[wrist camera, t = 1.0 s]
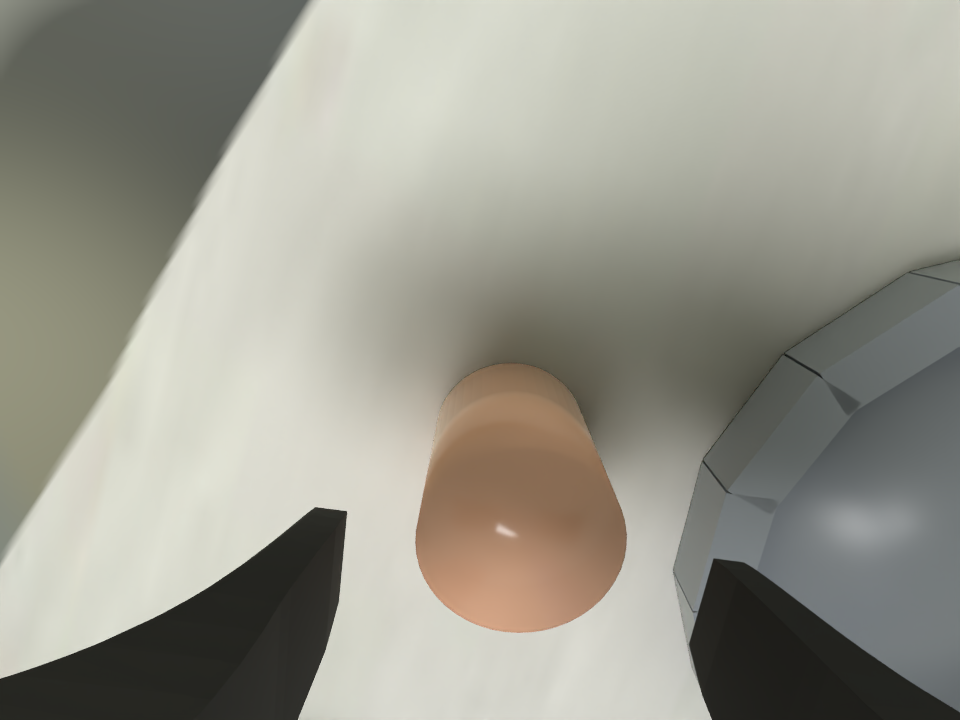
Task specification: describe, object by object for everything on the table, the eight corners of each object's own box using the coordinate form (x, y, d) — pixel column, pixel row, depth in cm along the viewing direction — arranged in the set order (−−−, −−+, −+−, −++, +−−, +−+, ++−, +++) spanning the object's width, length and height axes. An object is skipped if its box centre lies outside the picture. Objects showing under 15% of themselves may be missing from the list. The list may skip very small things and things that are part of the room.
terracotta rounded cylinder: (568, 508, 20) (603, 644, 14) (428, 489, 20) (404, 619, 14) (596, 374, 19) (647, 462, 13) (446, 353, 18) (428, 433, 13)
